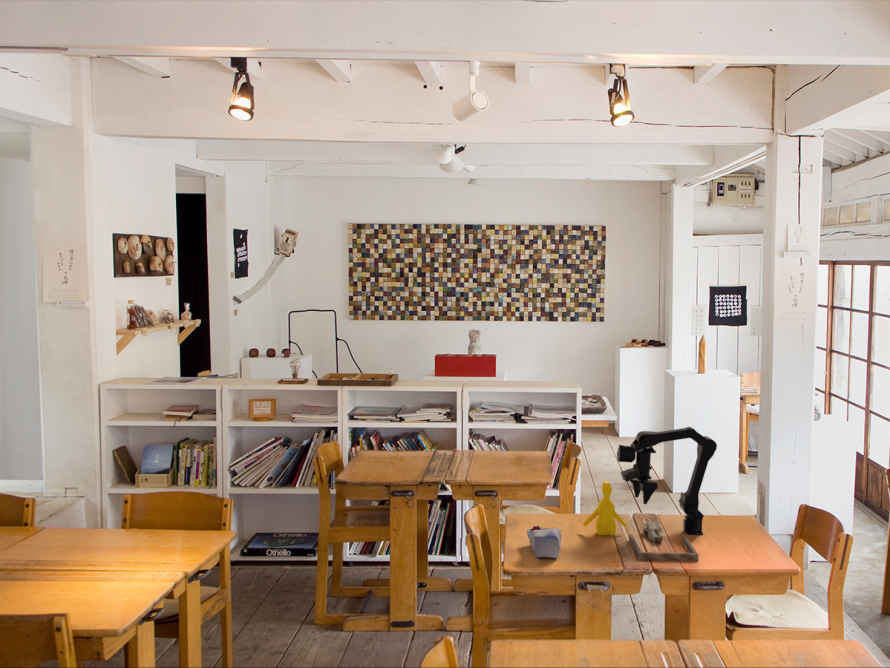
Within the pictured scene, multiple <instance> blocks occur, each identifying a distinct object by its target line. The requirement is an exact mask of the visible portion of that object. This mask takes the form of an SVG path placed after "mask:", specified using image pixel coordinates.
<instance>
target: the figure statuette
mask: <svg viewBox="0 0 890 668" xmlns="http://www.w3.org/2000/svg"><path fill="white" fill-rule="evenodd" d="M601 492H602V494H603V497H602V498H601V499H600V501H599V503H598V504H597V507H596V508H595V510H594V511H593V512H592V513H591V515H590V516H589V517H587V518H586V520H584V522H583V523H582V525H583V526H584V527H588V525H589V524H590V523H591V522H592V521H593V520H594V519H595V518H597V519H596V522H595V530H596V532H597V534H598V535H599V536H614V535H615V534H616V530H617V524H616V521H617V522H618V523H619V524H620V525H622V527H624V528H626V526H627V523H626V522H625V521H624V520H623V518H622V517H621V516H620V515H619V514H618V513H617V512H616V507H615V504H614V502H613V501H612V500H611V494H612V492H613V489H612V484H611V483H610V481H603V483H602V485H601ZM597 516H598V517H597ZM615 520H616V521H615Z"/></svg>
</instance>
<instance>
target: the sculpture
mask: <svg viewBox="0 0 890 668" xmlns="http://www.w3.org/2000/svg"><path fill="white" fill-rule="evenodd" d="M661 528H662V527H661V526H660V525H659V524H657V523H656V522H654V521H646V522H645V523H644V525H643V529H642V535H643V536H646V537H647V536H648V539H649V540H650V541H651V542H652V543H653V542H654V543H655V542H658V543H662V541H663V539H664V536H663V535H662V529H661Z"/></svg>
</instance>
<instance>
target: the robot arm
mask: <svg viewBox="0 0 890 668" xmlns="http://www.w3.org/2000/svg"><path fill="white" fill-rule="evenodd" d="M685 439H686V440H687V439H691V440H693V441H694V442H695V443H697V445H696V446H697V448H696V454H697V455H696V460H695V464H694V467H693V469H692V470H693V471H692V474H691V477H690V480H689V484H688V487H687V490H686V491H685V493H684V492H683V491H682V492H681V493H680V496H679V500H678V503H679V507H680V509H681V510H682V512H683V513H684V514H685V515H684V519H683V521H682V522H683V523H682V530H684V532H685V533H686V534H687V535H704V532H703V519H704V515H705V514H703V513H702V512H701V511H700V510H699V506H700V505H699V504H700V501H699V497H700V496H699V495H700V490H701V486H702V484H703V481H704V478H705V474H706V470H707V467H708V464H709V462H710V460H711V459H712V458H713V457H714V455H715V452H716V451H717V448H718V444H717V442H716V441H715V440H714V439H712V438H711V437H709V436H705V435H702V434H700V433H699V432H698V431H697V430H696V429H695V428H693V427H692V426H686V427H684V428H676V429H671V430H670V429H669V430H663V431H651V430H643V431H639V432H637V434H636V436H635V439H634V440H633V441H632V442H631V443H630V445H623V444H619V445H618V448H617V451H616V460H617V462H618V463H633V462H634V461H635V463H633V464H632V468H631V467H630V468H628V469H625V470H622V471H620V474H621V477H622V480H623V481H625V482H630V483H631V484H632V487H633V493H634V497H635V498H639V496H640V494H641V491H642V502H643V504H644V505H647V504H648V502H649V501H650V500H651V497H652V496H653V494H654V492H655V491H657V490H658V486H659V485H658V482H657V481H655V480H653V479H652V476H651V475H650V474H651V473H650V472H651V470H652V469H653V467H652V466H651V460H652V459H651V458H652V457H651V456H652V454H657V451H656V450H655V449H654V447H653V446H656V445H658V444H660V443H664V442H673V441H678V440H685Z"/></svg>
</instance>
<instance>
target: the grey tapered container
mask: <svg viewBox="0 0 890 668" xmlns="http://www.w3.org/2000/svg"><path fill="white" fill-rule="evenodd" d="M561 532H562V530H561V529H560V528H556V527H553V528H552V527H542V526H539V525H533V526H532V528H529V529H527V530H526V533H527V538H528V539H529V543H530V547H531V549H532V553H533V554H534V555H535V558H551V559H558V557H559V554H560V551H561V543H562V533H561Z"/></svg>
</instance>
